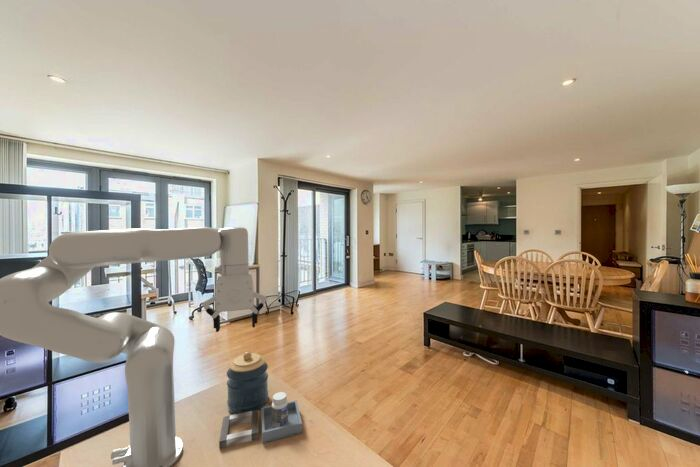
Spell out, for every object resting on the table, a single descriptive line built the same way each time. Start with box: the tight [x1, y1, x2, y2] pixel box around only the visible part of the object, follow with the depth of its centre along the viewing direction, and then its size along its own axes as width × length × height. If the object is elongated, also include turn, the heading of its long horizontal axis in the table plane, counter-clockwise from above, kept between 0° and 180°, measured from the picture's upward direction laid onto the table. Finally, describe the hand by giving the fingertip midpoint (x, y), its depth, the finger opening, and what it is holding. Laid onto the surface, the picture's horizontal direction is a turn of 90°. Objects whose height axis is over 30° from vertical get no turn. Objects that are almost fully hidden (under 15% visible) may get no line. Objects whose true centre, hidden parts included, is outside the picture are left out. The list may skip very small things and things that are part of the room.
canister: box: [226, 351, 269, 415], centre depth 92 cm, size 13×13×18 cm
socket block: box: [218, 410, 259, 449], centre depth 80 cm, size 10×10×2 cm
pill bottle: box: [271, 391, 289, 428], centre depth 82 cm, size 5×5×8 cm
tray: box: [260, 399, 303, 444], centre depth 83 cm, size 11×11×3 cm
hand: (236, 328), depth 80 cm, fingers open, 9 cm apart
